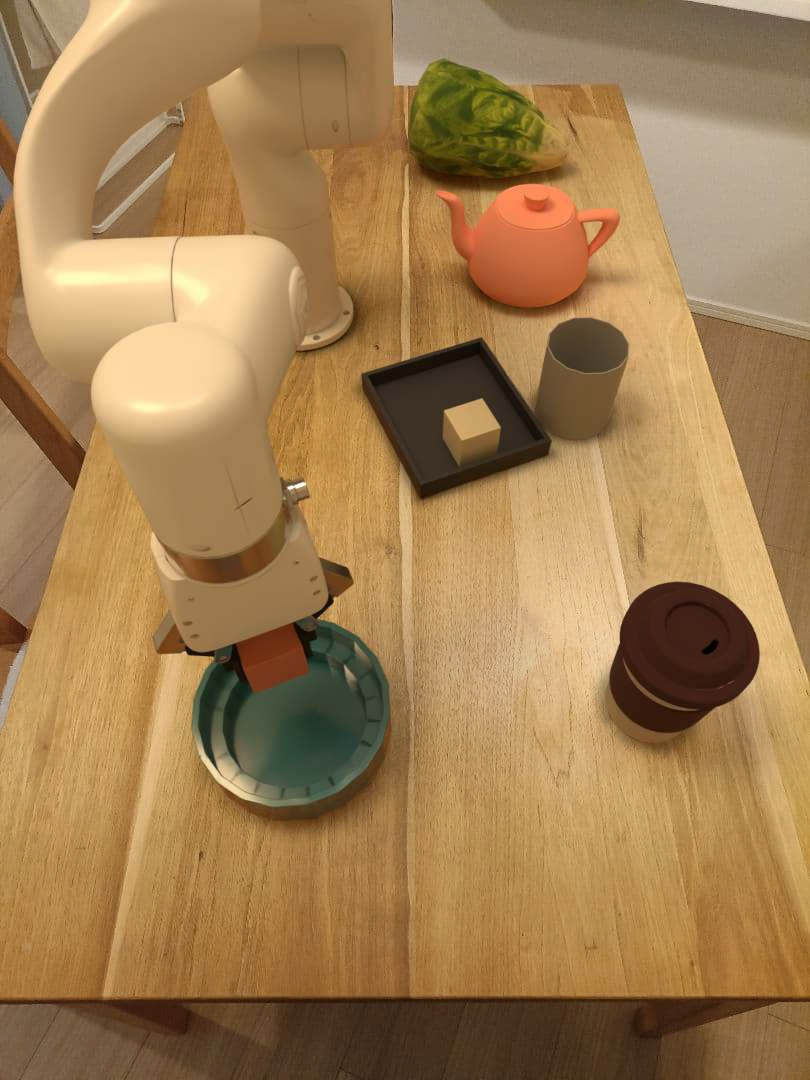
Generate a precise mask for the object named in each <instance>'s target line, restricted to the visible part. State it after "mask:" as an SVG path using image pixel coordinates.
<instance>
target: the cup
mask: <svg viewBox="0 0 810 1080" xmlns="http://www.w3.org/2000/svg"><path fill="white" fill-rule="evenodd" d="M629 355H630V342H629V340H628V339H627V337H626V335H625V333H624V332H623V330H621V329H620V328H618V327H617V326H616V325H614V324H612V323H611V322H609V321H606V320H602V319H599V318H595V317H592V316H591V317H590V316H588V317H587V316H586V317H585V316H584V317H581V316H580V317H571V318H568V319H566V320H564V321H560V322H558V323H557V324H556V325H555V326H554V327H553V328H552V329H551V330H550V331H549V332H548V336H547V342H546V347H545V352H544V357H543V363H542V368H541V373H540V379H539V384H538V389H537V394H536V399H535V406H534V412H533V413H534V415H535V416H536V418H537V419H538V421H539V422H540V424H541V425H542V427H543V428H544V430H545V431H546V432H548V433H549V434H551V435H552V436H555V437H559V438H561V439H564V440H567V441H574V440H576V441H578V440H587V439H590V438H592V437H594V436H597V435H600V433H602V431H603V430H604V429H605V427H606V426H607V425H608V424H609V421H610V417H611V414H612V411H613V408H614V405H615V402H616V398H617V395H618V392H619V389H620V386H621V382H622V380H623V376H624V374H625V369H626V368H627V367H626V366H627V363H628V360H629Z"/></svg>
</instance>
